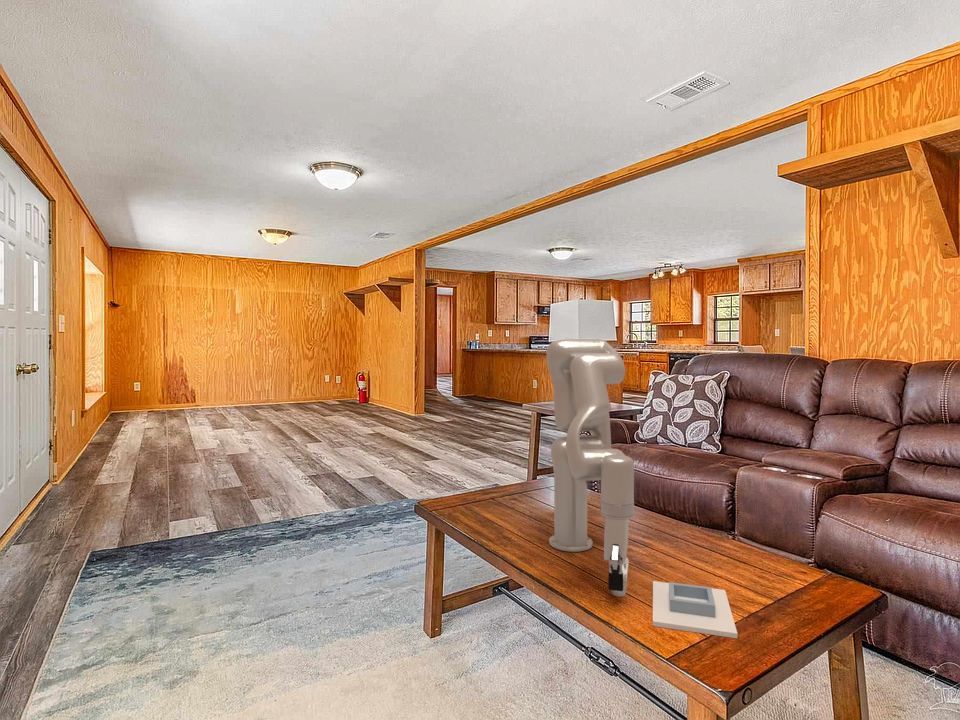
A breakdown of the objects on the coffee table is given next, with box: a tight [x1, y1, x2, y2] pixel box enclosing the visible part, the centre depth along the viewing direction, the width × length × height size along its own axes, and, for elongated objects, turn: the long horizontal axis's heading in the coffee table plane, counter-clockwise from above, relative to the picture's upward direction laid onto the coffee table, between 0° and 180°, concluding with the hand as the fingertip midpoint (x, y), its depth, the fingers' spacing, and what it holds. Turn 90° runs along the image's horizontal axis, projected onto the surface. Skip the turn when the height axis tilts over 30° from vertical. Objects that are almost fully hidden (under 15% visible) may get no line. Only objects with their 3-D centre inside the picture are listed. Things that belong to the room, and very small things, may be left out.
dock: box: [652, 580, 738, 640], centre depth 118 cm, size 20×16×4 cm
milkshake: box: [608, 556, 630, 598], centre depth 126 cm, size 4×5×10 cm
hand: (617, 581), depth 126 cm, fingers open, 9 cm apart
